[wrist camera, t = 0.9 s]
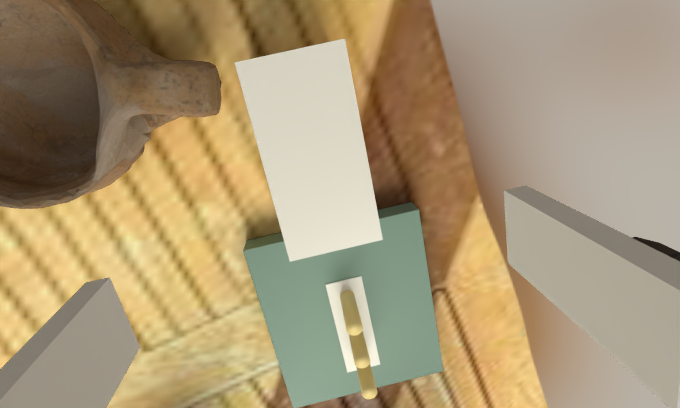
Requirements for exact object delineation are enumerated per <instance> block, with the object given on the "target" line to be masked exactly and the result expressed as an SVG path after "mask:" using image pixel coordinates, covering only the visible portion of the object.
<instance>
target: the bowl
mask: <svg viewBox="0 0 680 408" xmlns="http://www.w3.org/2000/svg"><path fill="white" fill-rule="evenodd" d="M220 88H221V80H220V78H219V74H218V71H217V68H216V66H215V65H213V64H211V63H210V62H204V61H192V60H175V61H174V60H169V59H167V58H165V57H163V56H160V55H158V54H156V53H154V52H152V51H151V50H150V49H148V48H147V47H146V46H144V45H142V44H141V43H139V42H137V41H135V40H134V39H133V38H132V37H131V36H130V34H129V32H127V31H126V30H125V29H124V28H123V27H122V26H121V25H120V24H119V23H118V22H116V21H115V19H114V18H113V17H112V16H111V15H110V14H109V13H108V12H107V11H105V10H104V9H103V8H102V7H101V6H100V5H98V4H97V3H96V2H95V1H93V0H0V206H2V207H10V208H19V209H34V208H44V207H49V206H53V205H57V204H61V203H67V202H70V201H72V200H74V199H76V198H78V197H80V196H81V195H84V194H88V193H91V192H94V191H97V190H99V189H102V188H104V187H106V186H108V185H110V184H112V183H113V182H114V181H115V180H116V179H118V178H119V177H120V176H121V175H123V174H124V173H125V172H127V171H128V170H129V169H130V167H131V166H132V164H133V163H134V162H135V161H136V160H137V159H138V158H139V157H140V156H141V155H142V153H143V151H144V144H145V143H146V142H147V141H148V140H149V139H150V138H151V132H152V131H153V130H154V129H155V128H157V127H159V126H161V125H163V124H165V123H167V122H170V121H172V120H174V119H177V118H179V117H182V116H187V117H206V116H213V115H217V114H218V113H219V110H220V106H221V90H220Z"/></svg>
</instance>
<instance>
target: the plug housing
mask: <svg viewBox="0 0 680 408" xmlns="http://www.w3.org/2000/svg"><path fill="white" fill-rule="evenodd" d="M235 66H236V70H237V73H238V77H239V80H240V84H241V88H242V91H243V95H244V98H245V102H246V106H247V109H248V113H249V117H250V120H251V124H252V127H253V131H254V135H255V138H256V142H257V145H258V149H259V153H260V156H261V160H262V163H263V167H264V171H265V174H266V178H267V181H268V185H269V189H270V192H271V196H272V199H273V203H274V207H275V210H276V214H277V217H278V221H279V225H280V228H281V232H282V235H283V239H284V243H285V246H286V250H287V253H288V257H289V261H290V262H291V261H295V260H300V259H304V258H308V257H312V256H317V255H321V254H325V253H329V252H333V251H338V250H342V249H346V248H350V247H355V246H359V245H363V244H367V243H371V242H376V241H380V240H383V238H382V232H381V227H380V222H379V216H378V211H377V206H376V201H375V195H374V190H373V185H372V179H371V174H370V169H369V163H368V158H367V153H366V148H365V142H364V137H363V132H362V126H361V121H360V116H359V111H358V105H357V100H356V95H355V89H354V84H353V79H352V73H351V68H350V63H349V58H348V52H347V47H346V42H345V39H340V40H336V41H331V42H326V43H322V44H317V45H313V46H308V47H303V48H299V49H294V50H290V51H285V52H281V53H276V54H271V55H267V56H262V57H258V58H253V59H248V60H244V61H239V62H235Z"/></svg>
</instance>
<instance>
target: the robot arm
mask: <svg viewBox="0 0 680 408" xmlns="http://www.w3.org/2000/svg"><path fill="white" fill-rule="evenodd" d="M504 202H505V219H506V237H507V254H508V263H509V264H510V265H511V266H512V267H513V268H514V269H515V270H516V271H517V272H519V273H520V274H521V275H522V276H523V277H524V278H525V279H526V280H528V281H529V282H530V283H531V284H532V285H533V286H534V287H535V288H536V289H538V290H539V291H540V292H541V293H542V294H543V295H544V296H545V297H547V298H548V299H549V300H550V301H551V302H552V303H553V304H554V305H555V306H556V307H558V308H559V309H560V310H561V311H562V312H563V313H564V314H565V315H567V316H568V317H569V318H570V319H571V320H572V321H573V322H574V323H575V324H577V325H578V326H579V327H580V328H581V329H582V330H583V331H584V332H585V333H587V334H588V335H589V336H590V337H591V338H592V339H593V340H594V341H596V342H597V343H598V344H599V345H600V346H601V347H602V348H603V349H604V350H606V351H607V352H608V353H609V354H610V355H611V356H612V357H613V358H614V359H616V360H617V361H618V362H619V363H620V364H621V365H622V366H623V367H624V368H626V369H627V370H628V371H629V372H630V373H631V374H632V375H633V376H634V377H636V378H637V379H638V380H639V381H640V382H641V383H642V384H643V385H645V386H646V387H647V388H648V389H649V390H650V391H651V392H652V393H653V394H655V395H656V396H657V397H658V398H659V399H660V400H661V401H662V402H664V403H665V404H666V405H667V406H668V407H669V408H680V252H678V251H675V250H674V249H671V248H669V247H667V246H665V245H663V244H660V243H658V242H654V241H650V240H646V239H642V238H638V237H633V238H631V237H629V236H627V235H625V234H623V233H621V232H619V231H617V230H615V229H613V228H611V227H609V226H607V225H605V224H602V223H601V222H599V221H597V220H595V219H592V218H590V217H589V216H587V215H584V214H583V213H580V212H578V211H576V210H574V209H572V208H570V207H568V206H566V205H564V204H562V203H560V202H558V201H556V200H554V199H552V198H550V197H548V196H546V195H544V194H542V193H540V192H538V191H536V190H534V189H532V188H530V187H528V186H522V187H517V188H513V189H508V190H504ZM139 348H140V346H139V343H138V341H137V339H136V336H135V334H134V332H133V330H132V327H131V325H130V323H129V320H128V318H127V316H126V314H125V311H124V309H123V307H122V304H121V302H120V300H119V298H118V295H117V293H116V291H115V288H114V286H113V284H112V281H111V279H110V277H109V278H105V279H100V280H96V281H91V282H87V283H85V284H84V285H83V286H82V287H81V288H80V289H79V290H78V291H77V292H76V293H75V294H74V295H73V296H72V297H71V298H70V299H69V300H68V301H67V302H66V303H65V304H64V305H63V306H62V307H61V308H60V309H59V310H58V311H57V312H56V313H55V314H54V315H53V316H52V317H51V318H50V319H49V320H48V321H47V323H46V324H45V325H44V326H43V327H42V328H41V329H40V330H39V331H38V332H37V333H36V334H35V335H34V336H33V337H32V338H31V339H30V340H29V341H28V342H27V343H26V344H25V345H24V346H23V347H22V348H21V349H20V350H19V351H18V352H17V353H16V354H15V355H14V356H13V357H12V358H11V359H10V360H9V361H8V362H7V363H6V364H5V365H4V366H3V367H2V368H1V369H0V408H106V407H107V406H108V404H109V402H110V400H111V398H112V397H113V395H114V393H115V391H116V390H117V388H118V386H119V384H120V382H121V381H122V379H123V377H124V375H125V373H126V372H127V370H128V368H129V366H130V364H131V363H132V361H133V359H134V357H135V355H136V354H137V352H138V350H139Z"/></svg>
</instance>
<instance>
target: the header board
mask: <svg viewBox="0 0 680 408" xmlns="http://www.w3.org/2000/svg"><path fill="white" fill-rule="evenodd" d="M377 211H378V216H379V222H380V227H381V232H382V238H383V240H380V241H376V242H371V243H367V244H363V245H359V246H355V247H350V248H346V249H342V250H338V251H333V252H329V253H325V254H321V255H317V256H312V257H308V258H304V259H300V260H295V261H291V262H290V261H289V257H288V253H287V250H286V246H285V243H284V239H283V235H282V232H281V233H277V234H273V235H268V236H264V237H260V238H256V239H251V240H247V241H246V244H245V247H244V250H243V251H244V255H245V258H246V261H247V264H248V267H249V270H250V273H251V277H252V280H253V283H254V286H255V289H256V292H257V296H258V299H259V302H260V305H261V308H262V311H263V314H264V318H265V321H266V324H267V327H268V330H269V333H270V337H271V340H272V343H273V346H274V349H275V352H276V355H277V359H278V362H279V365H280V368H281V371H282V374H283V378H284V381H285V384H286V387H287V390H288V393H289V396H290V400H291V403H292V406H293V408H298V407H302V406H306V405H310V404H314V403H318V402H322V401H326V400H330V399H334V398H338V397H342V396H346V395H350V394H354V393H358V392H362V396H363V397H364V398H365V399H372V398H374V397H375V396H376V395H377V388H378V387H382V386H386V385H390V384H394V383H398V382H402V381H406V380H410V379H414V378H418V377H422V376H426V375H430V374H434V373H438V372H442V371H443V365H442V359H441V352H440V346H439V339H438V333H437V326H436V319H435V313H434V306H433V300H432V293H431V287H430V280H429V274H428V267H427V260H426V254H425V247H424V241H423V234H422V228H421V221H420V215H419V209H418V208H417V207H416V206H415V205H414V204H413V203H412V202H409V203H405V204H401V205H397V206H392V207H388V208H384V209H379V210H377Z"/></svg>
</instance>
